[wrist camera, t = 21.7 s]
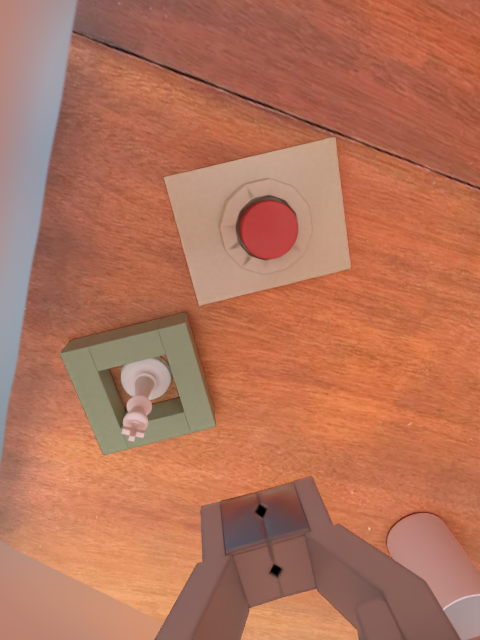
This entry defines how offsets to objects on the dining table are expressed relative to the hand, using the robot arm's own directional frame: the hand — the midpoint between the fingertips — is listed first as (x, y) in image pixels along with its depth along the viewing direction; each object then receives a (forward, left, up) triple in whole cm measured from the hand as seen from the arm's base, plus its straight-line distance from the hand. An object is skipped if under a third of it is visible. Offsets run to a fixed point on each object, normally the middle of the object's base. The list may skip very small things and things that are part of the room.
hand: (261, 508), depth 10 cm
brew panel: (+5, +3, -28) cm, 28 cm away
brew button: (+5, +3, -24) cm, 25 cm away
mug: (+16, -42, -28) cm, 53 cm away
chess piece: (-9, -9, -28) cm, 30 cm away
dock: (-9, -9, -28) cm, 30 cm away
